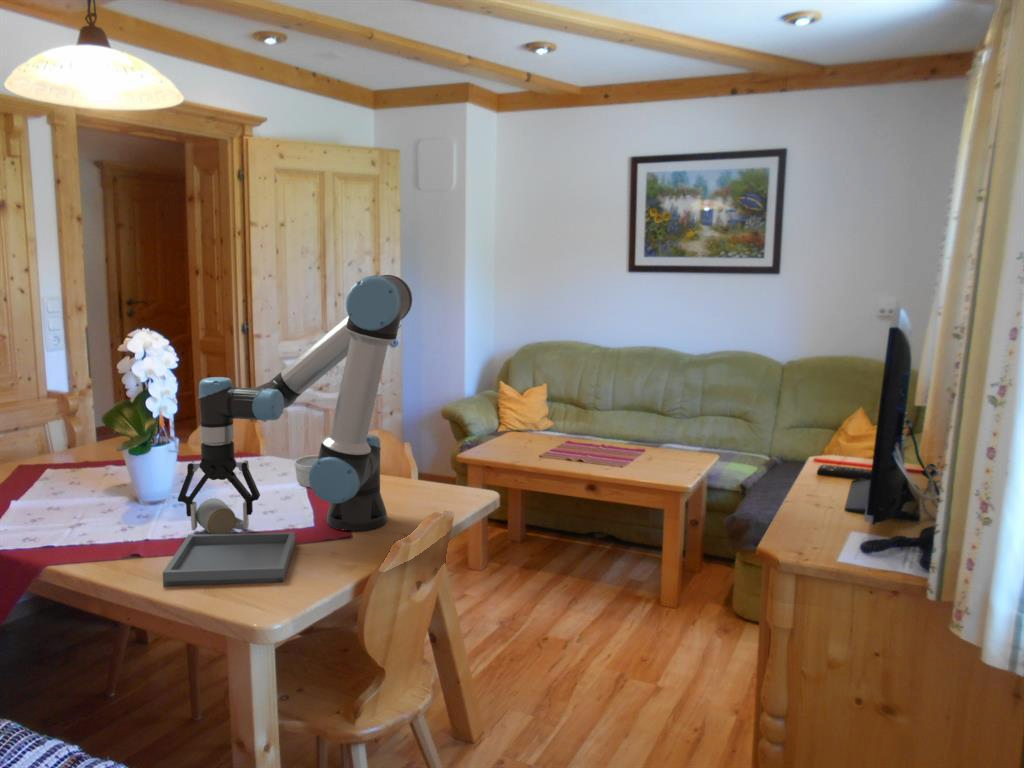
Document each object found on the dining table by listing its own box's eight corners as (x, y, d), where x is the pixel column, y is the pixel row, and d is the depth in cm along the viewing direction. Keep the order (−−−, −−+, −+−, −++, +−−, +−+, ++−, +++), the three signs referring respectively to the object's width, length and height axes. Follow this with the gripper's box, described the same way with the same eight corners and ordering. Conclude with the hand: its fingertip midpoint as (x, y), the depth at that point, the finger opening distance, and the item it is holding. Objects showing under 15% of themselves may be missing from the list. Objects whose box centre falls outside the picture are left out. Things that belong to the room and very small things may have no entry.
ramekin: (316, 492, 230) (315, 468, 229) (284, 483, 237) (284, 461, 236) (349, 481, 241) (348, 459, 240) (318, 474, 248) (318, 452, 247)
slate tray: (295, 544, 189) (294, 532, 189) (283, 582, 168) (283, 568, 167) (188, 547, 185) (188, 534, 185) (163, 586, 164) (162, 572, 164)
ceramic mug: (208, 540, 190) (207, 509, 189) (195, 530, 196) (195, 500, 195) (251, 532, 197) (251, 502, 196) (238, 522, 203) (237, 493, 202)
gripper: (270, 437, 198) (272, 521, 201) (169, 438, 194) (173, 524, 198) (266, 444, 190) (268, 531, 194) (161, 445, 187) (165, 534, 190)
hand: (220, 527), depth 196 cm, fingers closed on ceramic mug, 11 cm apart
